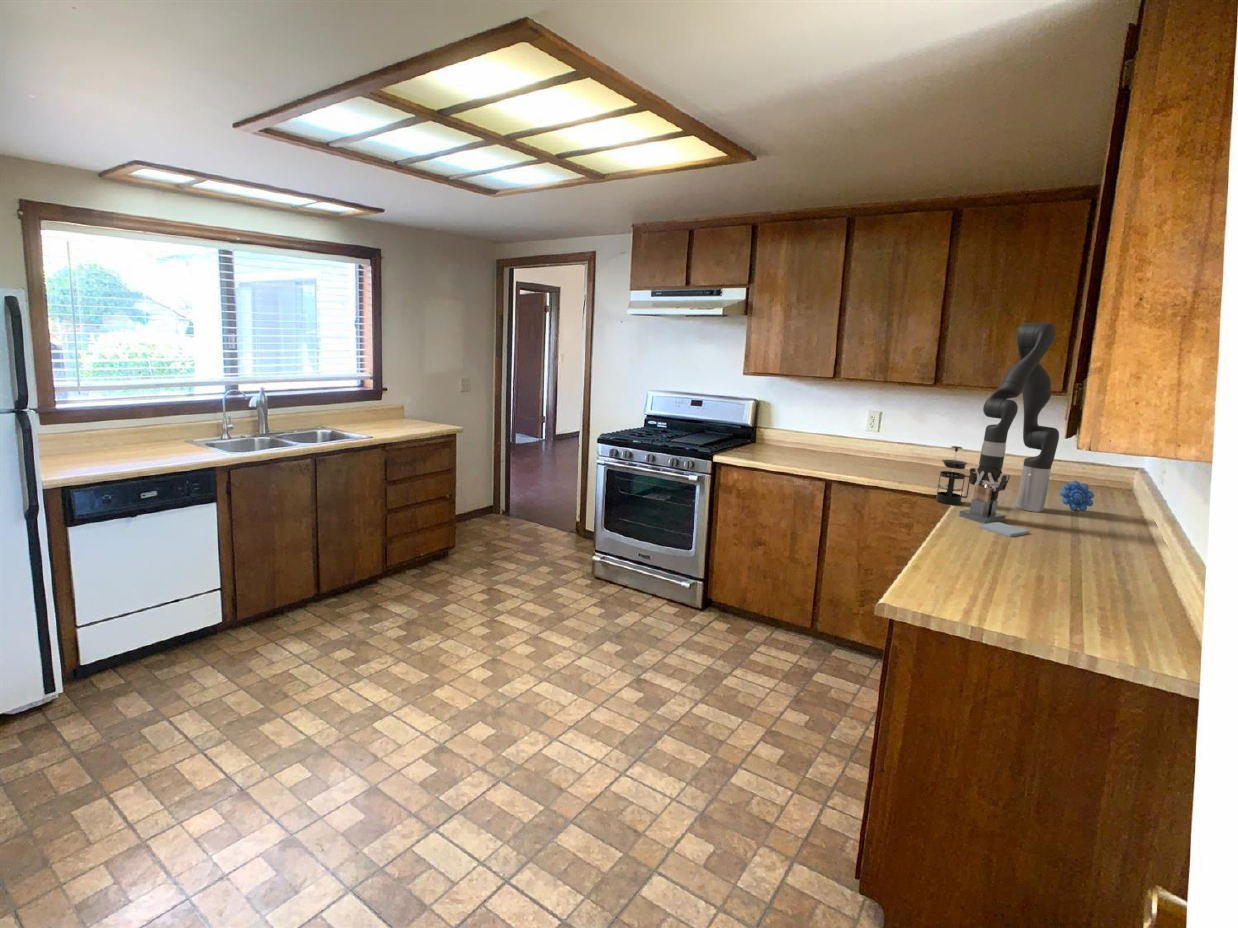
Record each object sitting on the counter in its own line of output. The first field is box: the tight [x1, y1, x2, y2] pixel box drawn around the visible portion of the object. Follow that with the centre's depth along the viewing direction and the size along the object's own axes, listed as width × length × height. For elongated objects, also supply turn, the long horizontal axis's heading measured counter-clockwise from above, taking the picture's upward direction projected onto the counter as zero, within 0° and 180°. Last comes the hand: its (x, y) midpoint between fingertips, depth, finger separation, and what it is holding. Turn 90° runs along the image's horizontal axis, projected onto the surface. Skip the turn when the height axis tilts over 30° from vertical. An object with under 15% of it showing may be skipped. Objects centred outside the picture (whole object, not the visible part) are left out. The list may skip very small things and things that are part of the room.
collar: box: [972, 484, 998, 502], centre depth 235 cm, size 6×6×5 cm
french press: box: [934, 445, 971, 506], centre depth 256 cm, size 12×9×23 cm
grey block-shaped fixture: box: [958, 483, 1007, 524], centre depth 235 cm, size 12×10×13 cm
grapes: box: [1059, 480, 1095, 512], centre depth 254 cm, size 12×7×12 cm, turn 61°
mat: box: [978, 521, 1030, 538], centre depth 222 cm, size 11×11×1 cm
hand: (985, 498), depth 235 cm, fingers closed on collar, 5 cm apart
